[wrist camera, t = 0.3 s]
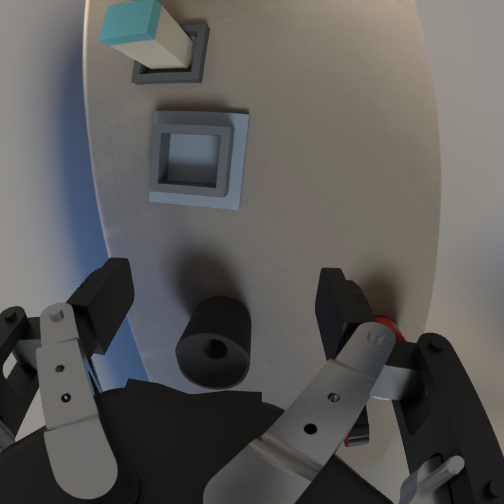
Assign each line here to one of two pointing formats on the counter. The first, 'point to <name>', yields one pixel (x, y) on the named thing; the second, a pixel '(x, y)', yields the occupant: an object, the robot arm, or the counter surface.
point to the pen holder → (216, 344)
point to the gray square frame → (179, 77)
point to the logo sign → (358, 431)
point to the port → (198, 158)
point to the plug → (147, 35)
